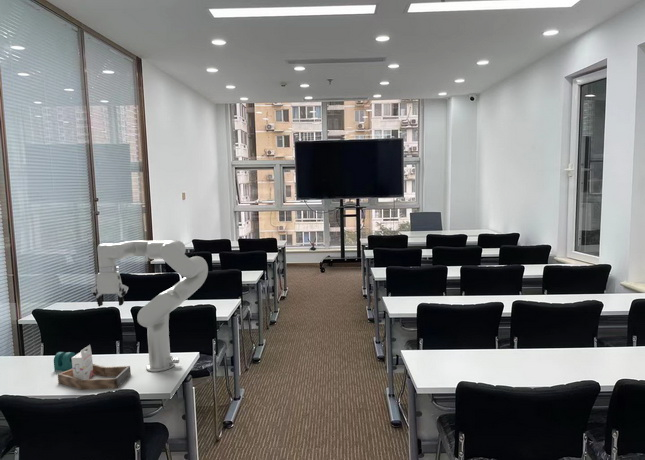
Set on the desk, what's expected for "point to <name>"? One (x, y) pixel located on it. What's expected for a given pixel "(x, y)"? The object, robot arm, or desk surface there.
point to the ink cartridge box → (83, 364)
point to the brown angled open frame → (120, 372)
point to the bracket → (63, 361)
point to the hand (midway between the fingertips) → (110, 305)
